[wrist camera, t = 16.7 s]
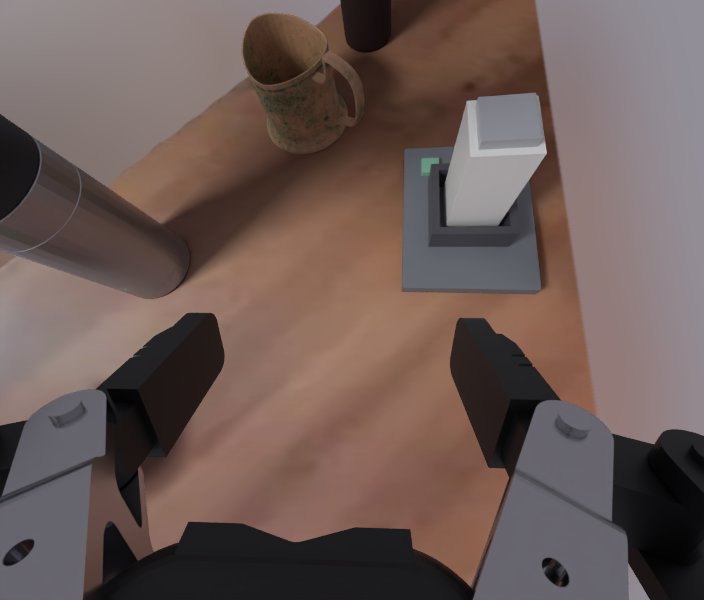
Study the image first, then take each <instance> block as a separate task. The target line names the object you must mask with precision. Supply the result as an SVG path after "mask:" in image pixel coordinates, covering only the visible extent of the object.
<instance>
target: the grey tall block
mask: <svg viewBox="0 0 704 600" xmlns="http://www.w3.org/2000/svg"><path fill="white" fill-rule="evenodd" d="M546 154H547V151H546V144H545V137H544V130H543V123H542V116H541V108H540V101H539V96H536V93H526V94H512V95H499V96H486V97H478V99H477V100H473V101H467V102H466V106H465V110H464V114H463V117H462V121H461V125H460V129H459V132H458V136H457V140H456V144H455V147H454V151H453V155H452V159H451V162H450V166H449V170H448V174H447V177H446V181H445V185H444V189H443V193H442V203H443V227H482V226H498V225H499V223H500V222H501V220H502V219H503V217H504V216H505V215H506V213H507V212H508V210H509V209H510V207H511V206H512V204H513V203H514V201H515V200H516V198H517V197H518V195H519V194H520V192H521V191H522V189H523V188H524V186H525V185H526V183H527V182H528V181H529V179H530V178H531V176H532V175H533V173H534V172H535V170H536V169H537V167H538V166H539V164H540V163H541V161H542V160H543V158H544V157H545V155H546Z"/></svg>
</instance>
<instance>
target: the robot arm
mask: <svg viewBox="0 0 704 600" xmlns="http://www.w3.org/2000/svg"><path fill="white" fill-rule="evenodd" d="M0 250H1V251H4V252H7V253H11V254H13V255H16V256H19V257H22V258H25V259H28V260H31V261H34V262H37V263H40V264H43V265H46V266H49V267H52V268H55V269H58V270H61V271H64V272H67V273H69V274H72V275H75V276H78V277H81V278H84V279H87V280H90V281H93V282H96V283H99V284H102V285H105V286H108V287H111V288H114V289H117V290H120V291H123V292H126V293H129V294H132V295H134V296H137V297H141V298H145V299H153V298H158V297H161V296H164V295H166V294H168V293H169V292H171V291H172V290H174V289H175V288H176V287H177V286H178V285H179V284H180V282H181V281H182V280H183V278H184V276H185V274H186V273H187V270H188V267H189V261H190V255H189V249H188V247H187V245H186V243H185V242H184V240H183V239H181V238H180V237H179V236H178V235H176V234H175V233H173V232H172V231H170V230H169V229H167V228H166V227H164V226H163V225H161V224H160V223H159V222H157V221H156V220H154V219H153V218H151V217H150V216H148V215H147V214H146V213H144V212H143V211H141V210H140V209H138V208H137V207H135V206H134V205H132V204H131V203H129V202H128V201H126V200H125V199H124V198H122V197H121V196H119V195H118V194H116V193H115V192H113V191H112V190H110V189H109V188H107V187H106V186H104V185H103V184H101V183H100V182H98V181H97V180H95V179H94V178H93V177H91V176H90V175H88V174H87V173H85V172H84V171H82V170H81V169H80V168H78V167H76V166H75V165H74V164H72V163H71V162H69V161H68V160H66V159H65V158H63V157H62V156H60V155H59V154H57V153H56V152H54V151H53V150H51V149H50V148H48V147H47V146H46V145H44V144H43V143H41V142H40V141H38V140H37V139H35V138H34V137H32V136H31V135H29V134H28V133H27V132H25V131H24V130H22V129H21V128H19V127H18V126H16V125H15V124H14V123H12V122H11V121H9V120H8V119H6V118H5V117H4V116H2V115H1V114H0ZM223 364H224V349H223V345H222V340H221V336H220V332H219V327H218V323H217V319H216V317H215V315H214V314H212V313H187V314H186V315H184V316H183V317H182V318H181V319H180V320H179V321H178V322H177V323H176V324H175V325H174V326H173V327H170V328H169V329H167V330H165V331H163V332H161V333H159V334H158V335H156V336H154V337H153V338H152V339H151V340H150V341H149V342H148V343H146V344H145V345H144V346H143V349H140V350H139V351H138V352H136V353H135V354H134V355H133V358H130V359H129V360H128V361H126V362H125V363H124V364H123V365H122V366H121V367H120V368H119V369H118V370H116V371H115V372H114V373H113V374H112V375H111V376H110V377H109V378H108V379H106V380H105V381H104V382H103V383H102V384H101V385H100V386H99V387H98V388H96V389H88V390H81V391H76V392H73V393H70V394H67V395H64V396H62V397H60V398H57V399H55V400H53V401H51V402H50V403H48V404H46V405H45V406H43V407H42V408H40V409H39V410H38V411H36V412H35V413H34V414H33V415H32V416H31V417H30V418H29V419H28V420H26V421H21V422H16V423H11V424H6V425H1V426H0V600H629V597H628V563H629V565H630V567H631V568H632V570H633V572H634V573H635V575H636V577H637V578H638V580H639V582H640V583H641V585H642V587H643V588H644V590H645V592H646V594H647V595H648V597H649V599H650V600H704V436H702V435H699V434H696V433H693V432H689V431H685V430H674V429H673V430H667V431H664V432H663V433H662V434H661V435H660V437H659V438H658V440H657V441H656V443H655V444H650V443H646V442H642V441H638V440H634V439H630V438H626V437H623V436H619V435H615V434H612V433H611V432H610V430H609V429H608V427H607V426H606V425H605V424H604V423H603V422H602V421H601V420H600V419H599V418H597V417H596V416H595V415H593V414H592V413H590V412H589V411H587V410H585V409H583V408H581V407H579V406H577V405H574V404H571V403H568V402H564V401H561V400H560V398H559V397H558V396H557V395H556V393H555V392H554V391H553V390H552V388H551V387H550V386H549V385H548V383H547V382H546V381H545V380H544V378H543V377H542V376H541V375H540V373H539V372H538V371H537V370H536V368H535V367H532V363H531V362H530V361H529V359H528V358H527V357H525V354H524V353H523V352H522V351H521V349H520V348H519V347H518V346H517V344H516V343H514V342H513V341H511V340H510V339H508V338H507V337H505V336H504V335H502V334H496V333H495V332H494V330H493V329H492V328H491V326H490V325H489V323H488V322H487V321H486V320H485V319H484V318H459V319H458V321H457V324H456V330H455V335H454V340H453V346H452V351H451V357H450V369H451V374H452V377H453V380H454V382H455V385H456V387H457V390H458V392H459V395H460V397H461V400H462V402H463V405H464V407H465V410H466V412H467V415H468V417H469V420H470V422H471V425H472V427H473V430H474V432H475V435H476V437H477V440H478V442H479V445H480V447H481V450H482V452H483V455H484V457H485V460H486V462H487V465H488V467H489V468H505V469H506V471H507V474H508V476H509V480H508V482H507V485H506V488H505V491H504V494H503V497H502V500H501V502H500V505H499V508H498V511H497V514H496V517H495V520H494V523H493V526H492V529H491V531H490V534H489V537H488V540H487V543H486V546H485V549H484V552H483V554H482V557H481V560H480V563H479V565H478V568H477V571H476V574H475V576H474V579H473V582H472V585H471V587H470V586H469V585H468V584H467V583H466V582H465V581H464V580H463V579H462V578H460V577H459V576H458V575H457V574H456V573H455V572H453V571H452V570H451V569H450V568H448V567H447V566H445V565H444V564H442V563H441V562H439V561H438V560H436V559H434V558H433V557H431V556H429V555H427V554H425V553H423V552H420V551H417V550H415V549H413V548H412V540H411V532H410V529H385V528H356V527H355V528H351V529H347V530H344V531H340V532H336V533H332V534H329V535H325V536H321V537H317V538H314V539H310V540H306V541H302V542H291V541H288V540H285V539H282V538H280V537H277V536H274V535H272V534H269V533H266V532H263V531H261V530H258V529H255V528H253V527H250V526H247V525H245V524H238V523H209V522H188V524H187V526H186V529H185V531H184V533H183V535H182V537H181V539H180V541H179V543H176V544H173V545H170V546H168V547H165V548H162V549H160V550H158V551H156V552H153V549H152V545H151V541H150V536H149V527H148V516H147V506H146V496H145V485H144V475H143V470H142V468H141V466H140V465H141V464H142V462H143V461H144V460H145V458H146V457H166V456H167V455H168V453H169V452H170V450H171V448H172V447H173V445H174V444H175V442H176V441H177V439H178V437H179V436H180V434H181V433H182V431H183V430H184V428H185V426H186V425H187V423H188V422H189V420H190V419H191V417H192V415H193V414H194V412H195V411H196V409H197V408H198V406H199V404H200V403H201V401H202V400H203V398H204V397H205V395H206V393H207V392H208V390H209V389H210V387H211V386H212V384H213V382H214V381H215V379H216V378H217V376H218V375H219V373H220V371H221V370H222V367H223Z"/></svg>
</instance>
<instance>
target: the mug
mask: <svg viewBox="0 0 704 600" xmlns="http://www.w3.org/2000/svg"><path fill="white" fill-rule="evenodd" d="M242 59H243V63H244V66H245V69H246V70H247V73H248V75H249V77H250V78H251V80H252V83H253V85H254V87H255V90H256V92H257V94H258V96H259V98H260V100H261V103H262V105H263V107H264V109H265V111H266V113H267V115H268V119H267V130H268V133H269V136H270V138H271V139H272V141H273V142H274V144H275V145H276V146H277V147H279V148H280V149H282V150H284V151H286V152H288V153H292V154H311V153H315V152H318V151H321V150H323V149H325V148H327V147H328V146H330V145H331V144H333V143H334V142H335V141H336V140H337V139H338V138H339V137H340V136H341V134H342V133H343V131H344V129H345V127H346V126H350V127H353V126H355V125H356V124H357V123H358V122H359V121H360V120H361V119H362V118H363V115H364V110H365V100H364V91H363V86H362V83H361V80H360V78H359V76H358V74H357V73H356V71H355V70H354V69H353V68H352V67H351V66H350V65H349V64H348V63H347V62H346V61H345V60H343V59H342V58H340V57H339V56H337V55H336V54H334V53H333V52H331V51H329V50H328V42H327V38H326V36H325V35H324V34H323V33H322V32H321V31H320V30H319V29H318V28H316V27H315V26H313V25H312V24H310V23H309V22H307V21H305V20H303V19H301V18H299V17H296V16H293V15H288V14H280V13H266V14H261V15H258V16H256V17H255V18H253V19H252V20H251V21H250V22H249V24H248V25H247V27H246V29H245V32H244V35H243V40H242ZM333 68H335V69H336V70H337V71H339V72H340V73H341V74H342V75H343V76H344V77H345V78H346V79H347V81H348V82H349V84H350V86H351V88H352V90H353V94H354V98H355V105H356V117H355V118H352V117H348V111H347V106H346V103H345V101H344V99H343V98H342V96H341V95H340V94H339V93H338V92H337V90H336V85H335V79H334V76H333Z"/></svg>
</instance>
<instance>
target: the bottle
mask: <svg viewBox="0 0 704 600" xmlns="http://www.w3.org/2000/svg"><path fill="white" fill-rule="evenodd" d="M341 8H342V16H343V23H344V31H345V38H346V41H347V44H348V45H349V46H350V47H351V48H353V49H355V50H356V51H361V52H370V51H373V50H376V49H378V48H380V47H382V46H383V45H384V44H385V43H386V42H387V41H388V39H389V37H390V34H391V0H341Z"/></svg>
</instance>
